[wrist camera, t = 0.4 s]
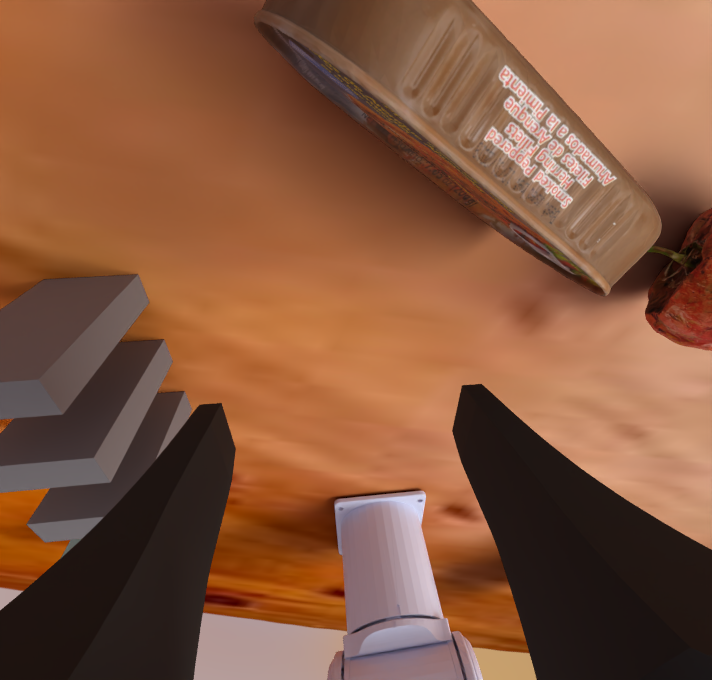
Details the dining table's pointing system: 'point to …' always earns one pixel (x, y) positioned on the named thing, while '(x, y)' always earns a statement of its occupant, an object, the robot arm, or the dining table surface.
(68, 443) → the domino
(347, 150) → the dining table surface
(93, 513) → the domino
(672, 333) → the pomegranate
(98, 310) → the domino
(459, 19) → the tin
